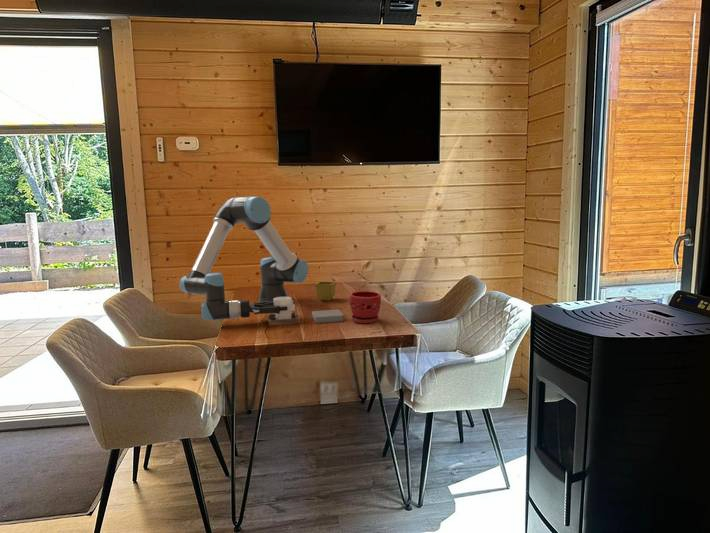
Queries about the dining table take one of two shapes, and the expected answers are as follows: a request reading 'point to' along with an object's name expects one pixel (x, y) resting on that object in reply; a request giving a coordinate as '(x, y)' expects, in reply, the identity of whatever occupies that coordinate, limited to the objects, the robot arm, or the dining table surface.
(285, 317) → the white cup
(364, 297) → the plant pot
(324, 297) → the flower pot
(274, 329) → the dining table surface
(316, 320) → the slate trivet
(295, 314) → the walnut frame
